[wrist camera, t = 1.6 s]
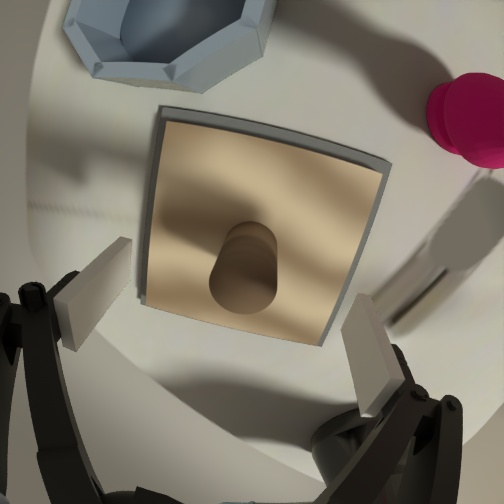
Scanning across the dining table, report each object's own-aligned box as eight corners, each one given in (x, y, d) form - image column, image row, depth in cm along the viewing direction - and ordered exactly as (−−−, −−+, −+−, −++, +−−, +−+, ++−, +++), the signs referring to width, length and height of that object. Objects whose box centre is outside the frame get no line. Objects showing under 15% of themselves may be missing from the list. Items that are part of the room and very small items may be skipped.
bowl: (251, 103, 20) (241, 92, 14) (100, 85, 20) (49, 79, 14) (288, -34, 15) (291, -80, 9) (140, -40, 15) (105, -73, 8)
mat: (320, 342, 28) (321, 346, 28) (142, 300, 28) (140, 303, 27) (389, 162, 21) (392, 163, 21) (165, 107, 21) (162, 107, 20)
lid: (315, 337, 27) (323, 394, 21) (150, 298, 27) (119, 347, 20) (377, 171, 21) (417, 192, 14) (172, 121, 21) (129, 121, 14)
